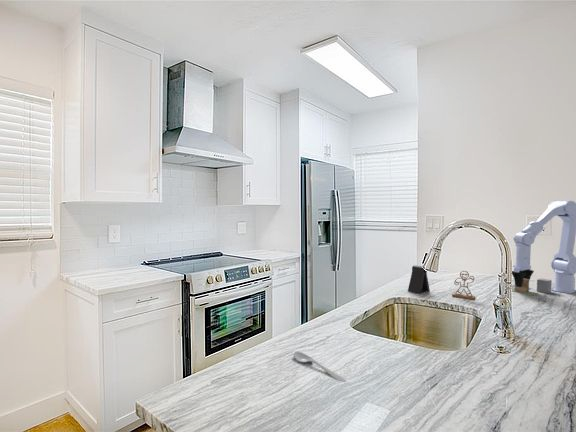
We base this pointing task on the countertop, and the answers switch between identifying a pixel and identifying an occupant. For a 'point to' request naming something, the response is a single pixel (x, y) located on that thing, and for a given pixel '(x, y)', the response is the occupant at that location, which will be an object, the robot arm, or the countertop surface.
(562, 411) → the countertop surface
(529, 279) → the robot arm
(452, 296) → the grey figurine
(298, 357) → the spoon
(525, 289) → the walnut block
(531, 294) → the rubber mat
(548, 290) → the grey block
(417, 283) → the phone stand
